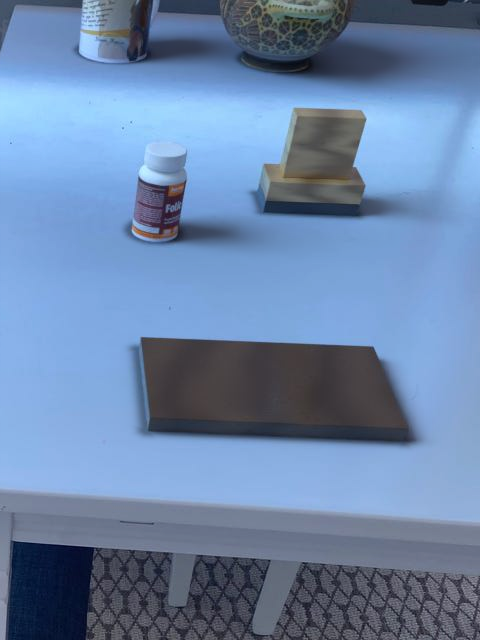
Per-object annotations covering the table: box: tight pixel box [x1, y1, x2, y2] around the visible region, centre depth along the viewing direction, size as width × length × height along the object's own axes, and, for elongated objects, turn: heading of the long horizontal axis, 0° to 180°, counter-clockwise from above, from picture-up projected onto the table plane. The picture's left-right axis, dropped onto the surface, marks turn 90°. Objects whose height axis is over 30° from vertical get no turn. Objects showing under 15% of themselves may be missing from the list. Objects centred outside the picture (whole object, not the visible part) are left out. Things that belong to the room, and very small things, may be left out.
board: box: [138, 336, 409, 442], centre depth 77 cm, size 20×12×2 cm, turn 88°
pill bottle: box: [131, 140, 188, 243], centre depth 94 cm, size 5×5×8 cm
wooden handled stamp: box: [256, 107, 367, 217], centre depth 99 cm, size 10×5×10 cm, turn 88°
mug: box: [78, 0, 161, 64], centre depth 132 cm, size 10×12×11 cm
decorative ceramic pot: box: [219, 0, 356, 73], centre depth 129 cm, size 24×18×15 cm
